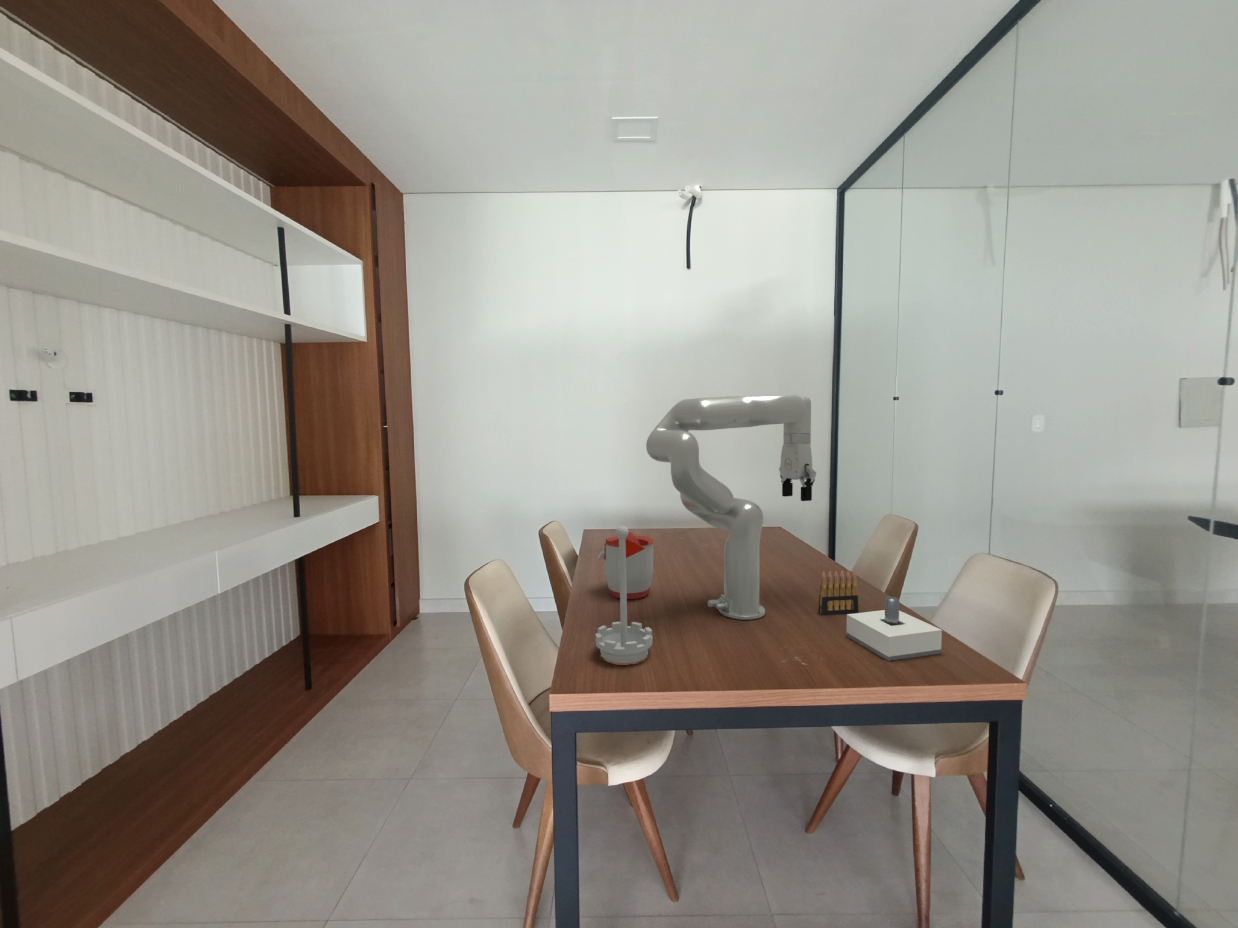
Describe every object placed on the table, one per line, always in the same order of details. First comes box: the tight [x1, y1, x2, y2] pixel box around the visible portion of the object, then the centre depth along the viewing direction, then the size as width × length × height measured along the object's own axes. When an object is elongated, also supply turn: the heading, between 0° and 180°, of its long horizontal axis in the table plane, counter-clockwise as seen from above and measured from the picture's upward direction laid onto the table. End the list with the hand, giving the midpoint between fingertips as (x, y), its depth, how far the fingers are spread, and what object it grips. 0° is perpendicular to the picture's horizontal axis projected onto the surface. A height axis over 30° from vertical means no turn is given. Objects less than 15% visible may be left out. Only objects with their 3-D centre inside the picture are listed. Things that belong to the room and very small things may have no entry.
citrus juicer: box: [597, 530, 655, 600], centre depth 162 cm, size 16×17×20 cm
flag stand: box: [595, 525, 653, 663], centre depth 119 cm, size 13×13×30 cm
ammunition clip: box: [818, 569, 860, 616], centre depth 143 cm, size 11×2×12 cm, turn 96°
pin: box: [884, 596, 900, 626], centre depth 122 cm, size 3×3×10 cm
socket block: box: [846, 609, 943, 662], centre depth 123 cm, size 14×14×6 cm
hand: (796, 498), depth 152 cm, fingers open, 9 cm apart
